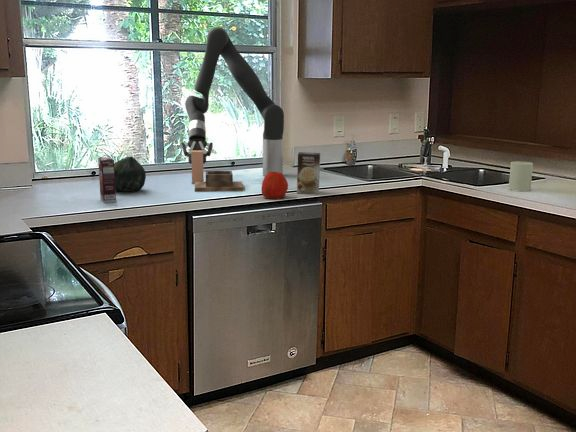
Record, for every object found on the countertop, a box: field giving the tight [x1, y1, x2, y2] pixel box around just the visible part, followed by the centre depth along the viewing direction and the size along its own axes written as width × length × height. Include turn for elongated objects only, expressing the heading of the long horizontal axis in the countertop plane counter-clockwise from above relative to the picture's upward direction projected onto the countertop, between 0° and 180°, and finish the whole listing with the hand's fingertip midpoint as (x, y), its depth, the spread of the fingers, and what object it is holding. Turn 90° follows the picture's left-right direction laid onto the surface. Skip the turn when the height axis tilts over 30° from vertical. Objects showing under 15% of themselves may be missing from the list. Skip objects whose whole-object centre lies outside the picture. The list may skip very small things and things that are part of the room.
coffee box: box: [296, 151, 321, 195], centre depth 259 cm, size 9×6×16 cm
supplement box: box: [97, 156, 117, 204], centre depth 238 cm, size 9×5×16 cm, turn 24°
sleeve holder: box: [194, 170, 245, 192], centre depth 268 cm, size 20×15×6 cm
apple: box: [261, 171, 289, 200], centre depth 248 cm, size 10×10×10 cm
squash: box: [114, 156, 147, 193], centre depth 258 cm, size 14×15×15 cm
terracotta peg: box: [191, 150, 205, 185], centre depth 279 cm, size 5×5×14 cm
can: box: [508, 160, 534, 192], centre depth 272 cm, size 9×9×12 cm
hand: (197, 162), depth 277 cm, fingers closed on terracotta peg, 5 cm apart
